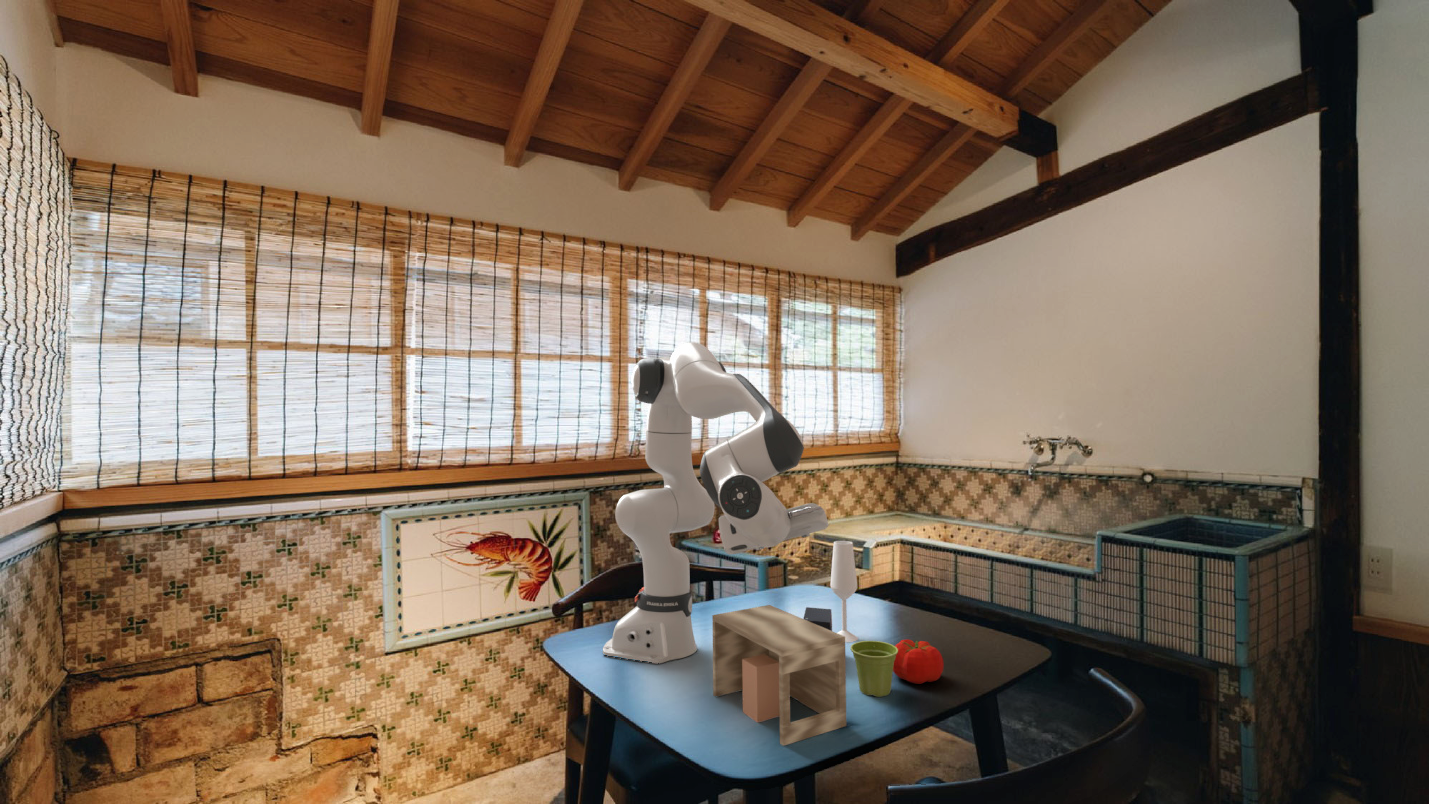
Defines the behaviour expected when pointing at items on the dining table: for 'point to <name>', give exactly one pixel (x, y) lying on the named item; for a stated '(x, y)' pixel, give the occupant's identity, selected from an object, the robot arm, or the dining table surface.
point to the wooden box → (785, 665)
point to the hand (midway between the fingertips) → (782, 539)
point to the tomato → (917, 662)
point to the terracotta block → (760, 687)
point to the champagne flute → (844, 580)
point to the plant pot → (874, 666)
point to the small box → (819, 617)
